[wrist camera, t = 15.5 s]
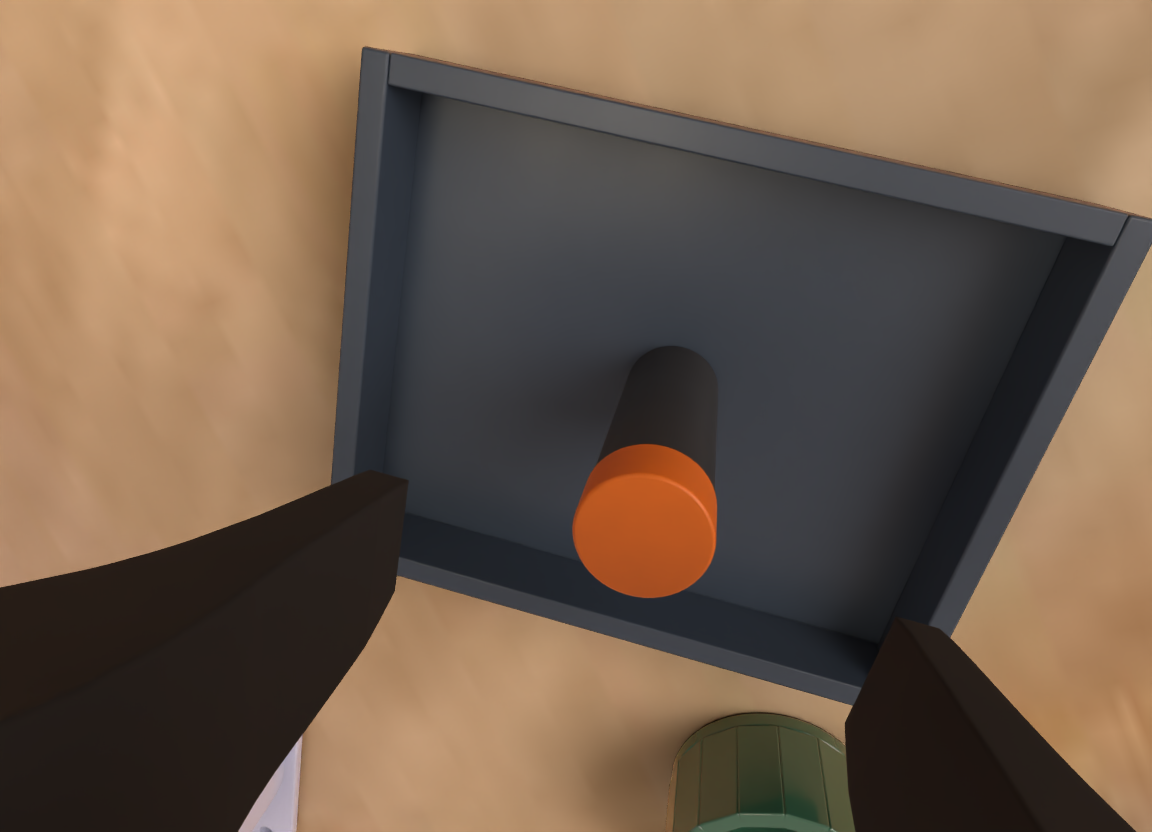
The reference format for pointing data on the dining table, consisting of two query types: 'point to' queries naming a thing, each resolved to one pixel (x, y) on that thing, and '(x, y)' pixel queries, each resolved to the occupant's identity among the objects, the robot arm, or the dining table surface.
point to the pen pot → (760, 778)
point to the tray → (705, 356)
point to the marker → (654, 480)
